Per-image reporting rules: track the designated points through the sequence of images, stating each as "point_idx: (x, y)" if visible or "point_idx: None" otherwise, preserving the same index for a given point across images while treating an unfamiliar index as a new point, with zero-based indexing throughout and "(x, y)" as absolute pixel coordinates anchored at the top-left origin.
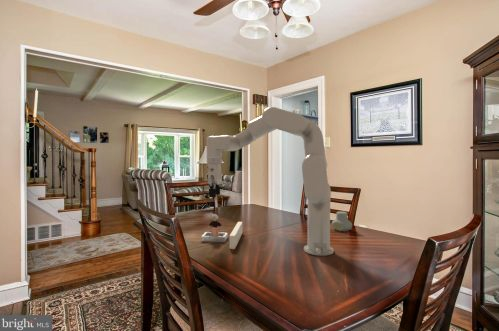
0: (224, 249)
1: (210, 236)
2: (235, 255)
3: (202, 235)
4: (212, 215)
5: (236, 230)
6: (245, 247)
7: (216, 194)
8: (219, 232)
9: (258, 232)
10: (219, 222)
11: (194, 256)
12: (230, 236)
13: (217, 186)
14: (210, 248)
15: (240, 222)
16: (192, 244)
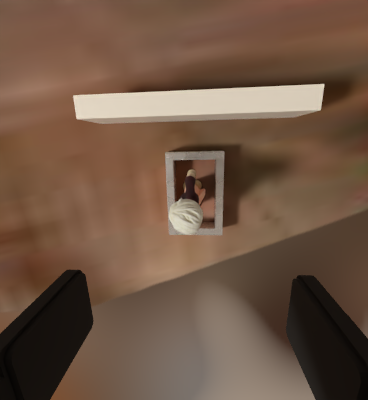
0: (299, 134)
1: (221, 204)
2: (363, 80)
3: (211, 234)
4: (194, 232)
5: (235, 94)
6: (278, 58)
7: (86, 300)
8: (167, 184)
9: (77, 31)
10: (189, 188)
11: (360, 211)
12: (319, 106)
13: (3, 394)
14: (288, 183)
15: (87, 103)
16: (250, 245)
